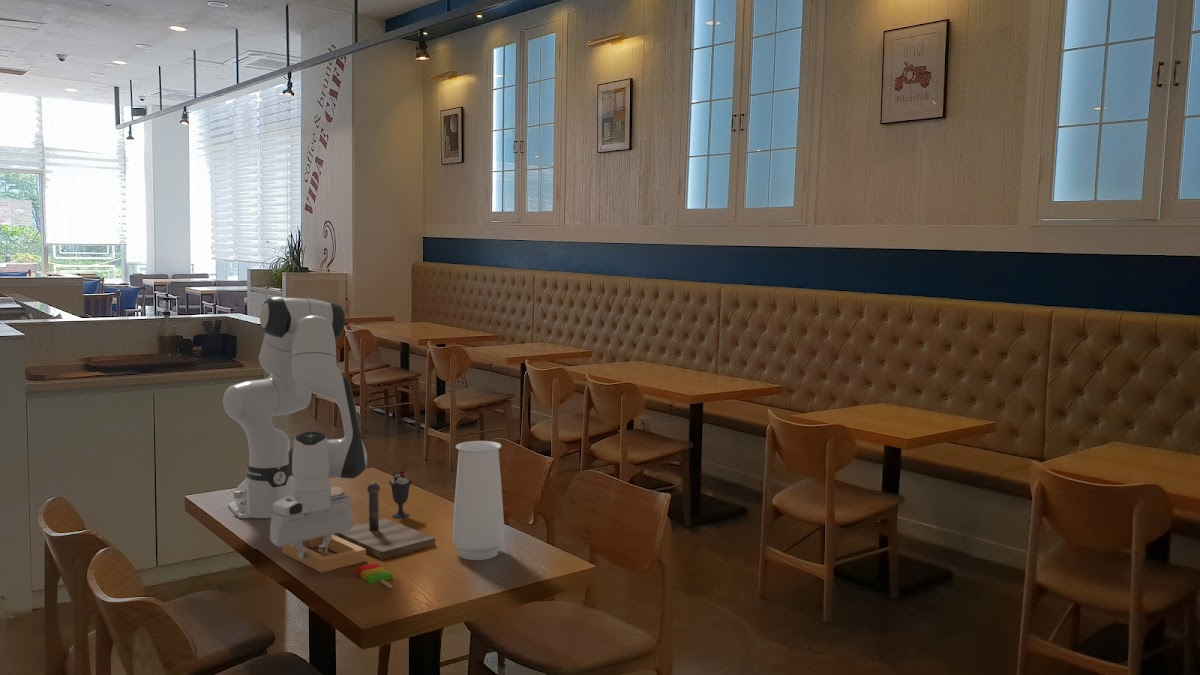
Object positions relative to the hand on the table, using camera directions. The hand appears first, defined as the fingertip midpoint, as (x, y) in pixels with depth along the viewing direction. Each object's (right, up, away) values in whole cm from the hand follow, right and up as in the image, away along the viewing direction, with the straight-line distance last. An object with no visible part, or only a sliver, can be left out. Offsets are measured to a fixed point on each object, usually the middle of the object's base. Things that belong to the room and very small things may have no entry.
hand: (312, 555), depth 225 cm
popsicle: (+18, -4, -9) cm, 21 cm away
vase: (+39, -2, +10) cm, 40 cm away
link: (+1, -2, +6) cm, 6 cm away
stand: (+13, -1, +18) cm, 22 cm away
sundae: (+13, +1, +41) cm, 43 cm away
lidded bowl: (-8, +1, +33) cm, 34 cm away
